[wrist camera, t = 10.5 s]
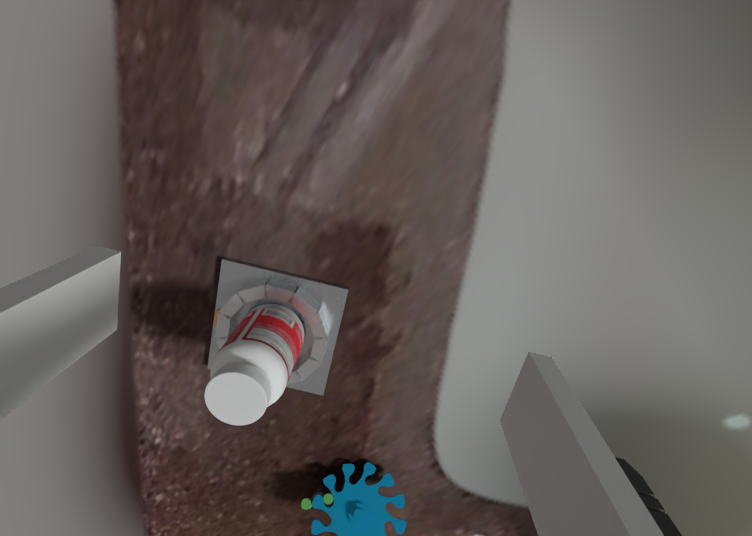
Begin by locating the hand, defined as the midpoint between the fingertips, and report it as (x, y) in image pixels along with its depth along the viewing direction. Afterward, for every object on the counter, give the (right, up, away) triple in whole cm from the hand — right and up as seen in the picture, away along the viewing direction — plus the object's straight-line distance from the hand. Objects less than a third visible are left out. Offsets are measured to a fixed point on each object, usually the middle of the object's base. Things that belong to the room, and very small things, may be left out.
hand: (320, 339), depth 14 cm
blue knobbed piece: (0, -22, +36) cm, 42 cm away
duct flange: (-8, -4, +29) cm, 31 cm away
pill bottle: (-8, -4, +29) cm, 30 cm away
